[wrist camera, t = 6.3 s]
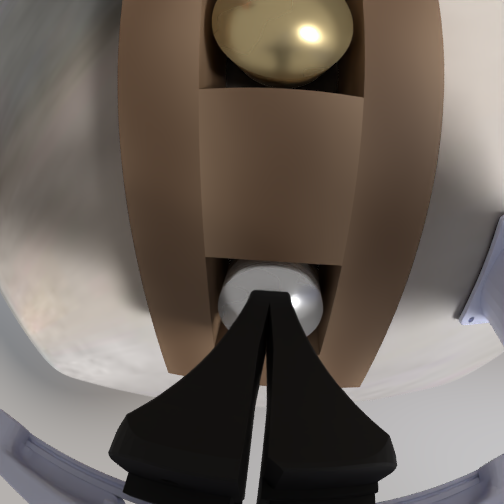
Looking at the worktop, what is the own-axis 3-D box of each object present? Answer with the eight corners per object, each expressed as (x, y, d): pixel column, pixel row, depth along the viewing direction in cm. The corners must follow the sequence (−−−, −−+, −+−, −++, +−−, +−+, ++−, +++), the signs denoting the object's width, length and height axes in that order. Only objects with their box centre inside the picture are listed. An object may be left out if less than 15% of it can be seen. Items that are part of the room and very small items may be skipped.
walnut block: (391, -23, 6) (425, -56, 2) (349, 334, 16) (359, 386, 12) (172, -31, 7) (135, -66, 3) (188, 323, 17) (168, 372, 13)
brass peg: (332, 9, 7) (349, -25, 4) (331, 92, 9) (352, 86, 6) (233, 4, 8) (214, -30, 5) (231, 87, 10) (210, 79, 7)
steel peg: (320, 228, 12) (331, 271, 9) (309, 298, 14) (313, 349, 11) (231, 223, 13) (214, 263, 10) (233, 293, 15) (220, 342, 11)
